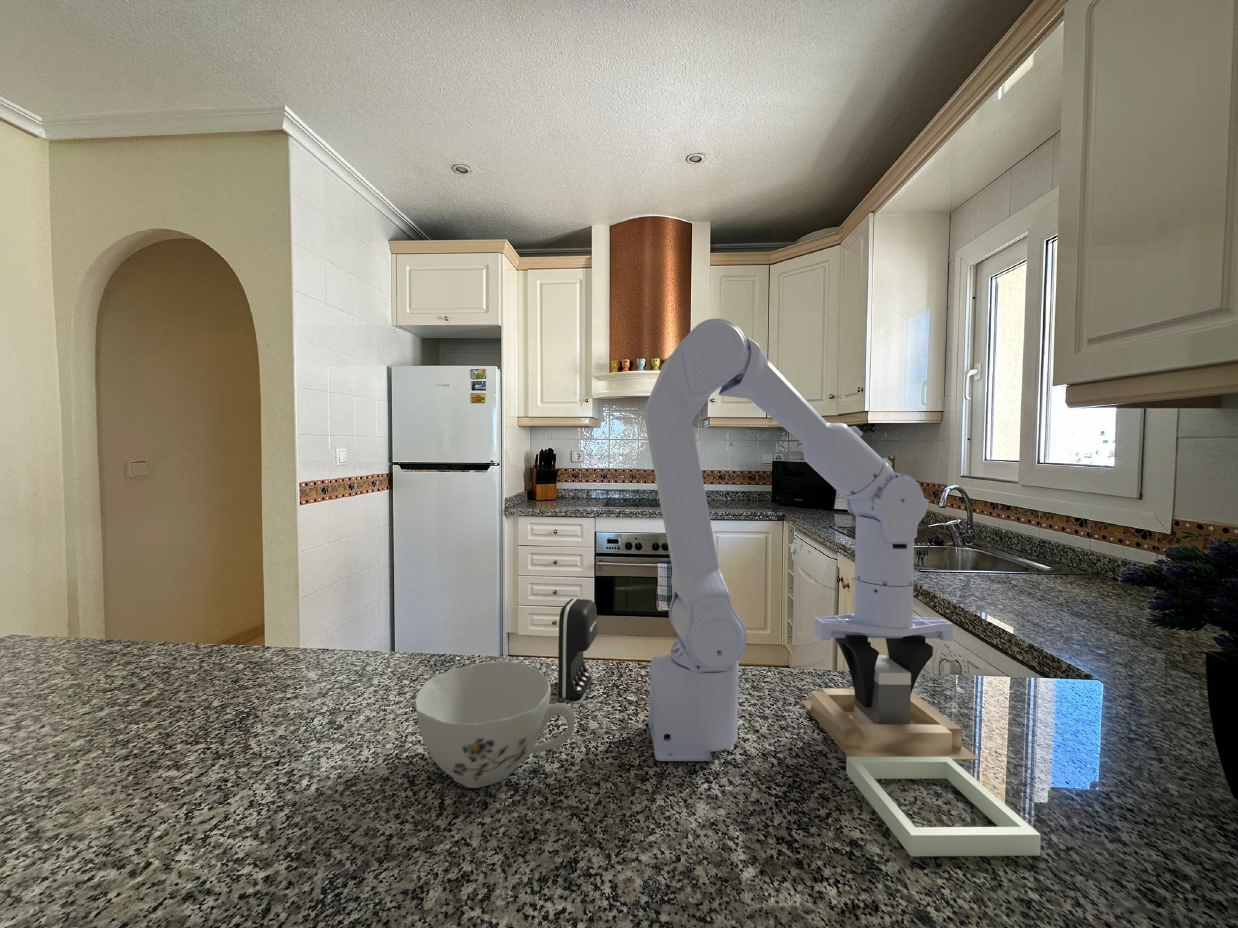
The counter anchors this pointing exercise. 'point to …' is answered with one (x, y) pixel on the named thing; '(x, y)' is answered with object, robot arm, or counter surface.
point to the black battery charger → (575, 646)
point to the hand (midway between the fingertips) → (881, 703)
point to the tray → (943, 841)
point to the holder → (887, 729)
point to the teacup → (487, 719)
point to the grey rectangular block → (887, 695)
